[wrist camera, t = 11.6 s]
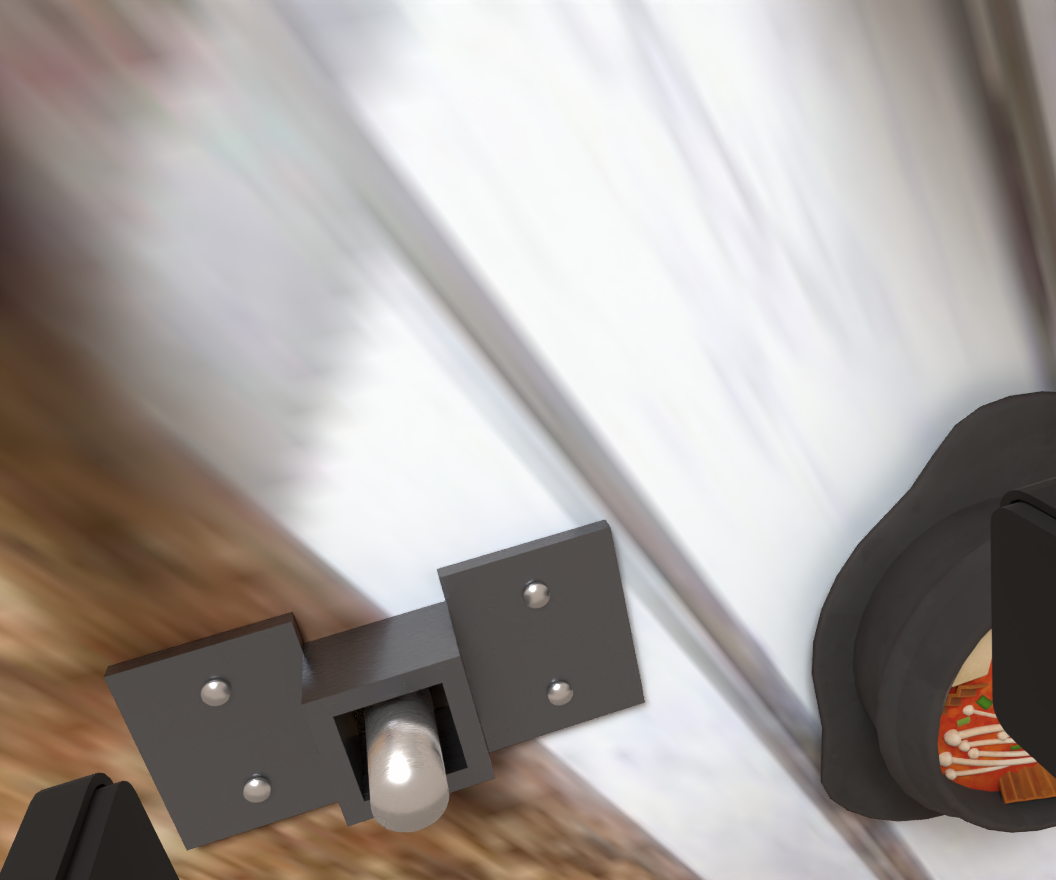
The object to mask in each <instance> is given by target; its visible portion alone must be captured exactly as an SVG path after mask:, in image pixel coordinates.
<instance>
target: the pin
mask: <svg viewBox="0 0 1056 880" xmlns="http://www.w3.org/2000/svg"><path fill="white" fill-rule="evenodd" d="M364 714H365V729H366V744H367V758H368V773H369V788H370V803H371V811H372V814H373V816H374V818H375V820H376V821H377V822H378V823H379V824H380V825H382V826H383V827H385V828H386V829H389V830H392V831H396V832H413V831H418V830H421V829H423V828H426V827H428V826H430V825H431V824H433V823H434V822H435V821H437V820H438V819H439V818H440V817H441V816H442V814H443V813H444V811H445V810H446V808H447V805H448V802H449V790H448V784H447V779H446V774H445V768H444V763H443V757H442V752H441V747H440V741H439V736H438V730H437V725H436V720H435V714H434V709H433V703H432V698H431V693H430V687H427V688H424V689H420V690H417V691H414V692H411V693H408V694H404V695H401V696H398V697H395V698H392V699H388V700H385V701H382V702H379V703H376V704H372V705H369V706H366V707H364Z"/></svg>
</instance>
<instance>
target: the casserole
mask: <svg viewBox="0 0 1056 880" xmlns="http://www.w3.org/2000/svg"><path fill="white" fill-rule="evenodd" d="M1052 477H1056V392H1044V391H1041V392H1034V393H1027V394H1020V395H1013V396H1008V397H1005V398H1003V399H1000V400H997V401H994V402H992V403H989V404H986V405H983V406H981V407H979V408H978V409H977V410H975V411H974V412H972V413H971V414H970V415H968V416H967V417H966V418H964V419H963V420H962V421H960V422H959V423H958V424H956V425H955V426H954V427H953V429H952V430H951V431H950V433H949V434H948V436H947V437H946V438H945V440H944V441H943V442H942V444H941V445H940V446H939V448H938V449H937V450H936V452H935V453H934V455H933V456H932V457H931V459H930V460H929V462H928V463H927V465H926V466H925V468H924V469H923V471H922V472H921V474H920V475H919V477H918V478H917V480H916V481H915V483H914V484H913V486H912V487H911V489H910V490H909V491H908V492H907V493H906V494H905V495H904V496H903V497H902V498H901V499H900V500H899V501H898V502H897V503H896V504H895V505H894V507H893V508H892V509H891V510H890V511H889V512H888V513H887V514H886V515H885V516H884V517H883V518H882V519H881V520H880V521H879V523H878V524H877V525H876V526H875V527H874V528H873V529H872V530H871V531H870V532H869V533H868V534H867V535H866V536H865V537H864V539H863V540H862V541H861V542H860V543H859V544H858V545H857V547H856V548H855V550H854V551H853V553H852V554H851V556H850V557H849V559H848V560H847V562H846V563H845V565H844V566H843V568H842V569H841V570H840V572H839V573H838V575H837V577H836V579H835V581H834V583H833V585H832V587H831V590H830V592H829V594H828V596H827V598H826V601H825V603H824V605H823V607H822V610H821V614H820V618H819V621H818V625H817V629H816V633H815V637H814V641H813V658H812V677H813V682H814V688H815V693H816V699H817V704H818V709H819V714H820V719H821V724H822V755H821V783H822V784H823V786H824V788H825V790H826V792H827V793H828V795H829V797H830V799H832V800H833V801H835V802H836V803H838V804H839V805H841V806H842V807H843V808H845V809H846V810H848V811H851V812H854V813H857V814H860V815H863V816H866V817H869V818H875V819H883V820H891V821H909V820H923V819H929V818H933V817H938V816H942V815H947V816H950V817H958V818H961V819H963V820H965V821H966V822H969V823H972V824H974V825H977V826H980V827H982V828H985V829H988V830H995V831H1003V832H1011V833H1014V832H1027V831H1039V830H1043V829H1047V828H1051V827H1055V826H1056V778H1054V777H1053V776H1052V775H1051V774H1050V773H1049V772H1048V771H1047V770H1046V769H1044V768H1043V767H1042V766H1041V765H1040V764H1039V763H1038V762H1037V761H1036V760H1035V759H1033V758H1032V757H1031V756H1030V755H1029V754H1028V753H1027V752H1026V751H1025V750H1024V749H1022V748H1021V747H1020V746H1019V745H1018V744H1017V743H1016V742H1015V741H1014V740H1013V739H1011V738H1010V736H1009V735H1008V734H1007V733H1006V732H1005V731H1004V729H1003V728H1002V726H1001V725H1000V723H999V721H998V719H997V717H996V715H995V712H994V709H993V702H992V621H991V530H990V523H991V516H992V514H993V512H994V511H995V510H997V509H998V508H1000V502H1001V500H1002V498H1003V496H1004V494H1006V493H1007V492H1009V491H1010V490H1014V489H1017V488H1020V487H1023V486H1027V485H1030V484H1033V483H1036V482H1039V481H1043V480H1046V479H1049V478H1052Z"/></svg>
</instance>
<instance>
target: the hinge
mask: <svg viewBox="0 0 1056 880" xmlns="http://www.w3.org/2000/svg"><path fill="white" fill-rule="evenodd" d="M437 571H438V575H439V579H440V583H441V586H442V590H443V593H444V597H445V600H446V601H444V602H441V603H438V604H434V605H431V606H428V607H424V608H421V609H418V610H414V611H411V612H408V613H404V614H401V615H398V616H394V617H391V618H388V619H384V620H381V621H378V622H374V623H371V624H368V625H364V626H361V627H358V628H354V629H351V630H348V631H344V632H341V633H338V634H334V635H331V636H328V637H324V638H321V639H318V640H314V641H311V642H308V643H303V641H302V638H301V635H300V633H299V630H298V627H297V624H296V622H295V619H294V616H293V613H292V612H291V613H288V614H284V615H281V616H278V617H274V618H271V619H267V620H264V621H261V622H257V623H254V624H250V625H247V626H244V627H240V628H237V629H234V630H230V631H227V632H223V633H220V634H217V635H213V636H210V637H206V638H203V639H200V640H196V641H193V642H190V643H186V644H183V645H179V646H176V647H173V648H169V649H166V650H162V651H159V652H156V653H152V654H149V655H146V656H142V657H139V658H135V659H132V660H129V661H125V662H122V663H119V664H115V665H112V666H108V668H107V671H106V673H105V676H104V679H105V681H106V683H107V685H108V687H109V689H110V691H111V693H112V695H113V697H114V699H115V701H116V704H117V706H118V708H119V710H120V712H121V714H122V716H123V718H124V720H125V722H126V724H127V726H128V729H129V731H130V733H131V735H132V737H133V739H134V741H135V743H136V745H137V747H138V749H139V751H140V754H141V756H142V758H143V760H144V762H145V764H146V766H147V768H148V770H149V772H150V774H151V776H152V779H153V781H154V783H155V785H156V787H157V789H158V791H159V793H160V795H161V797H162V799H163V801H164V804H165V806H166V808H167V810H168V812H169V814H170V816H171V818H172V820H173V822H174V824H175V826H176V829H177V831H178V833H179V835H180V837H181V839H182V841H183V843H184V845H185V847H186V849H187V850H190V849H193V848H196V847H199V846H202V845H205V844H208V843H211V842H215V841H218V840H221V839H224V838H227V837H230V836H233V835H236V834H239V833H242V832H245V831H249V830H252V829H255V828H258V827H261V826H264V825H267V824H270V823H273V822H276V821H279V820H282V819H286V818H289V817H292V816H295V815H298V814H301V813H304V812H307V811H310V810H313V809H316V808H320V807H323V806H326V805H329V804H332V803H335V802H339V805H340V808H341V810H342V813H343V815H344V818H345V821H346V823H347V826H351V825H354V824H357V823H360V822H363V821H366V820H369V819H372V818H374V816H373V814H372V811H371V803H370V788H369V773H368V758H367V744H366V732H365V733H362V734H360V733H359V730H358V727H357V724H356V721H355V718H354V716H353V713H352V711H353V710H356V709H360V708H363V707H366V706H369V705H372V704H376V703H379V702H382V701H385V700H388V699H392V698H395V697H398V696H401V695H404V694H408V693H411V692H414V691H417V690H420V689H424V688H427V687H430V686H433V685H436V684H440V683H443V687H444V690H445V693H446V697H447V700H448V703H449V706H448V707H445V708H442V709H438V710H435V711H434V714H435V720H436V725H437V730H438V736H439V741H440V747H441V752H442V757H443V763H444V768H445V774H446V779H447V784H448V790H449V793H451V792H454V791H457V790H460V789H463V788H466V787H470V786H473V785H476V784H479V783H482V782H485V781H488V780H491V779H494V778H495V775H494V771H493V767H492V764H491V760H490V756H489V752H492V751H496V750H499V749H502V748H505V747H508V746H511V745H514V744H517V743H520V742H523V741H526V740H529V739H533V738H536V737H539V736H542V735H545V734H548V733H551V732H554V731H557V730H560V729H563V728H567V727H570V726H573V725H576V724H579V723H582V722H585V721H588V720H591V719H594V718H597V717H600V716H604V715H607V714H610V713H613V712H616V711H619V710H622V709H625V708H628V707H631V706H634V705H638V704H641V703H644V702H645V701H644V696H643V691H642V686H641V680H640V675H639V670H638V665H637V660H636V655H635V650H634V645H633V640H632V635H631V630H630V625H629V620H628V615H627V610H626V604H625V599H624V594H623V589H622V584H621V579H620V574H619V569H618V564H617V559H616V554H615V549H614V544H613V539H612V534H611V528H610V526H609V525H608V523H607V522H606V520H602V521H599V522H596V523H592V524H589V525H585V526H582V527H579V528H575V529H572V530H568V531H565V532H562V533H558V534H555V535H552V536H548V537H545V538H541V539H538V540H535V541H531V542H528V543H524V544H521V545H518V546H514V547H511V548H508V549H504V550H501V551H497V552H494V553H491V554H487V555H484V556H481V557H477V558H474V559H470V560H467V561H464V562H460V563H457V564H453V565H450V566H447V567H443V568H440V569H437ZM482 728H483V729H482ZM483 732H484V733H483ZM484 735H485V737H484ZM485 739H486V740H485ZM486 742H487V744H486ZM487 746H488V748H487ZM488 749H489V752H488Z"/></svg>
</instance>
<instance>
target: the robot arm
mask: <svg viewBox="0 0 1056 880" xmlns="http://www.w3.org/2000/svg"><path fill="white" fill-rule="evenodd" d="M990 530H991V621H992V702H993V709H994V712H995V715H996V717H997V719H998V721H999V723H1000V725H1001V726H1002V728H1003V729H1004V731H1005V732H1006V733H1007V734H1008V735H1009V736H1010V738H1011V739H1013V740H1014V741H1015V742H1016V743H1017V744H1018V745H1019V746H1020V747H1021V748H1022V749H1024V750H1025V751H1026V752H1027V753H1028V754H1029V755H1030V756H1031V757H1032V758H1033V759H1035V760H1036V761H1037V762H1038V763H1039V764H1040V765H1041V766H1042V767H1043V768H1044V769H1046V770H1047V771H1048V772H1049V773H1050V774H1051V775H1052V776H1053V777H1054V778H1056V477H1052V478H1049V479H1046V480H1043V481H1039V482H1036V483H1033V484H1030V485H1027V486H1023V487H1020V488H1017V489H1014V490H1010V491H1009V492H1007V493H1006V494H1004V496H1003V498H1002V500H1001V502H1000V508H998V509H997V510H995V511H994V512H993V514H992V516H991V523H990ZM0 880H179V878H178V876H177V874H176V872H175V870H174V868H173V866H172V864H171V862H170V860H169V858H168V856H167V854H166V852H165V850H164V848H163V846H162V844H161V842H160V840H159V838H158V836H157V834H156V832H155V830H154V828H153V826H152V824H151V821H150V819H149V817H148V815H147V813H146V811H145V809H144V807H143V805H142V803H141V801H140V799H139V797H138V795H137V793H136V791H135V790H134V788H133V786H132V785H131V784H130V783H129V782H127V781H121V782H118V783H115V784H114V783H113V782H112V780H111V779H110V778H109V777H108V776H107V775H106V774H104V773H95V774H92V775H89V776H86V777H83V778H79V779H76V780H73V781H70V782H66V783H63V784H60V785H57V786H53V787H50V788H47V789H44V790H41V791H40V792H38V793H36V794H35V796H34V797H33V799H32V801H31V802H30V805H29V807H28V809H27V812H26V814H25V816H24V819H23V821H22V823H21V826H20V828H19V830H18V833H17V835H16V837H15V840H14V842H13V844H12V847H11V849H10V851H9V854H8V856H7V858H6V861H5V863H4V865H3V868H2V870H1V872H0Z"/></svg>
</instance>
